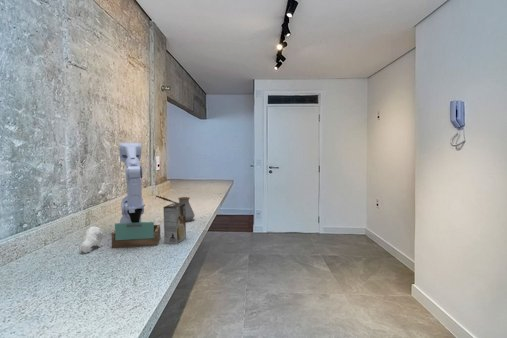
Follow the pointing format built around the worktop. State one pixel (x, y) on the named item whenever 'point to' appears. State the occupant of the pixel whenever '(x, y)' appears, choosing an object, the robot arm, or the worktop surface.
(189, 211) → the coffee pot
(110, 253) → the worktop surface
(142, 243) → the brown wooden open box
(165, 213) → the coffee box
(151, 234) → the panel
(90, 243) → the white rounded lump
